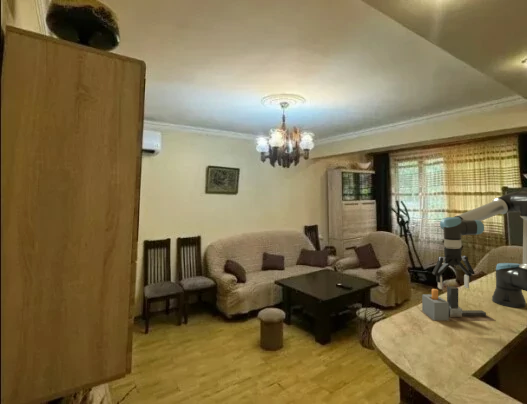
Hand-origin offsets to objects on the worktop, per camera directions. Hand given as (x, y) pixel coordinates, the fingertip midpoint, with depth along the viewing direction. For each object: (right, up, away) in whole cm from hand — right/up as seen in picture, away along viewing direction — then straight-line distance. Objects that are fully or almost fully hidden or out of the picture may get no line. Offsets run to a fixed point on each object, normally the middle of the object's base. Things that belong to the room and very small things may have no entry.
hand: (453, 288), depth 154 cm
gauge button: (-9, -9, 0) cm, 13 cm away
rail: (+5, -14, 0) cm, 15 cm away
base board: (+2, -15, 0) cm, 15 cm away
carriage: (0, -14, 0) cm, 14 cm away
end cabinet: (-9, -14, +1) cm, 17 cm away
